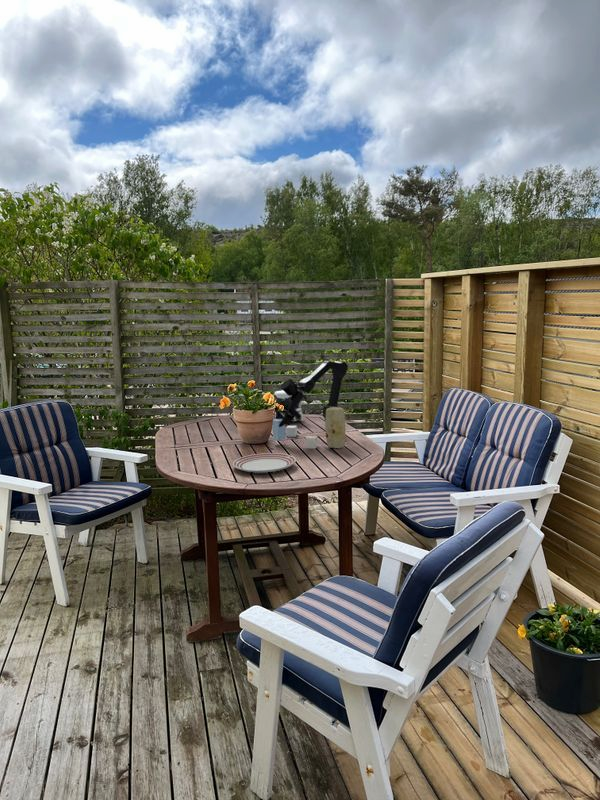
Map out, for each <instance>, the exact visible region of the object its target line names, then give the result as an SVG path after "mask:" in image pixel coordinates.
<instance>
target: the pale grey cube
mask: <svg viewBox="0 0 600 800" xmlns="http://www.w3.org/2000/svg"><path fill="white" fill-rule="evenodd" d="M285 431H286V436H288V438H289V437H290V438H295V437H297V436H296V435H298V426H297V425H287V426H285Z"/></svg>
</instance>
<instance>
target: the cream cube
mask: <svg viewBox="0 0 600 800" xmlns="http://www.w3.org/2000/svg"><path fill="white" fill-rule="evenodd" d="M317 447H318V436H317V435H316V436H315V435H313V436H312V435H311V436H310V435H307V436H306V437H305V449H316V448H317Z"/></svg>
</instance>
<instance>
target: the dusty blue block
mask: <svg viewBox="0 0 600 800" xmlns="http://www.w3.org/2000/svg"><path fill="white" fill-rule="evenodd" d="M281 421H282V419H274V418H273V419H272V438H273V440H275V441H278V442H279V441H284V440H286V439H287V437H286V424H285V425H283V426H281V427H279V424H280V422H281Z"/></svg>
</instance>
